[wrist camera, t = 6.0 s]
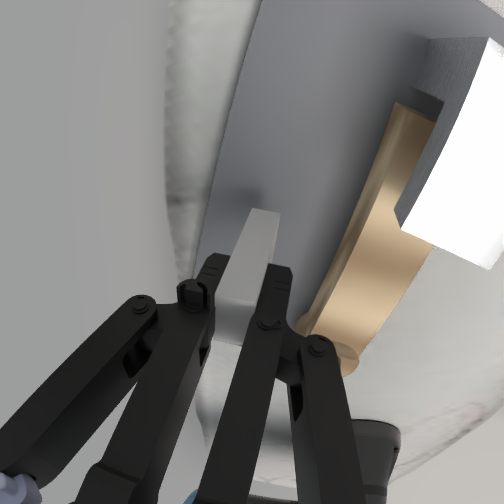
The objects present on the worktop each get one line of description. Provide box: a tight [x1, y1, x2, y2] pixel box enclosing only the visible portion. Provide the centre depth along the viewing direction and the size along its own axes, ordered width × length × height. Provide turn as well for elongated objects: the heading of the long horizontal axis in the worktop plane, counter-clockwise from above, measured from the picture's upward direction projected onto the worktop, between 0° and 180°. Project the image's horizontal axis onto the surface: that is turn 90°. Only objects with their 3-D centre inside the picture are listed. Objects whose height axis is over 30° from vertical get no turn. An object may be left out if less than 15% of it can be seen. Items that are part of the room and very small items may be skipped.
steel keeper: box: [394, 37, 504, 271], centre depth 11 cm, size 8×5×8 cm, turn 165°
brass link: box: [294, 102, 437, 377], centre depth 18 cm, size 20×5×4 cm, turn 168°
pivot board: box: [193, 0, 504, 331], centre depth 18 cm, size 29×14×1 cm, turn 165°
